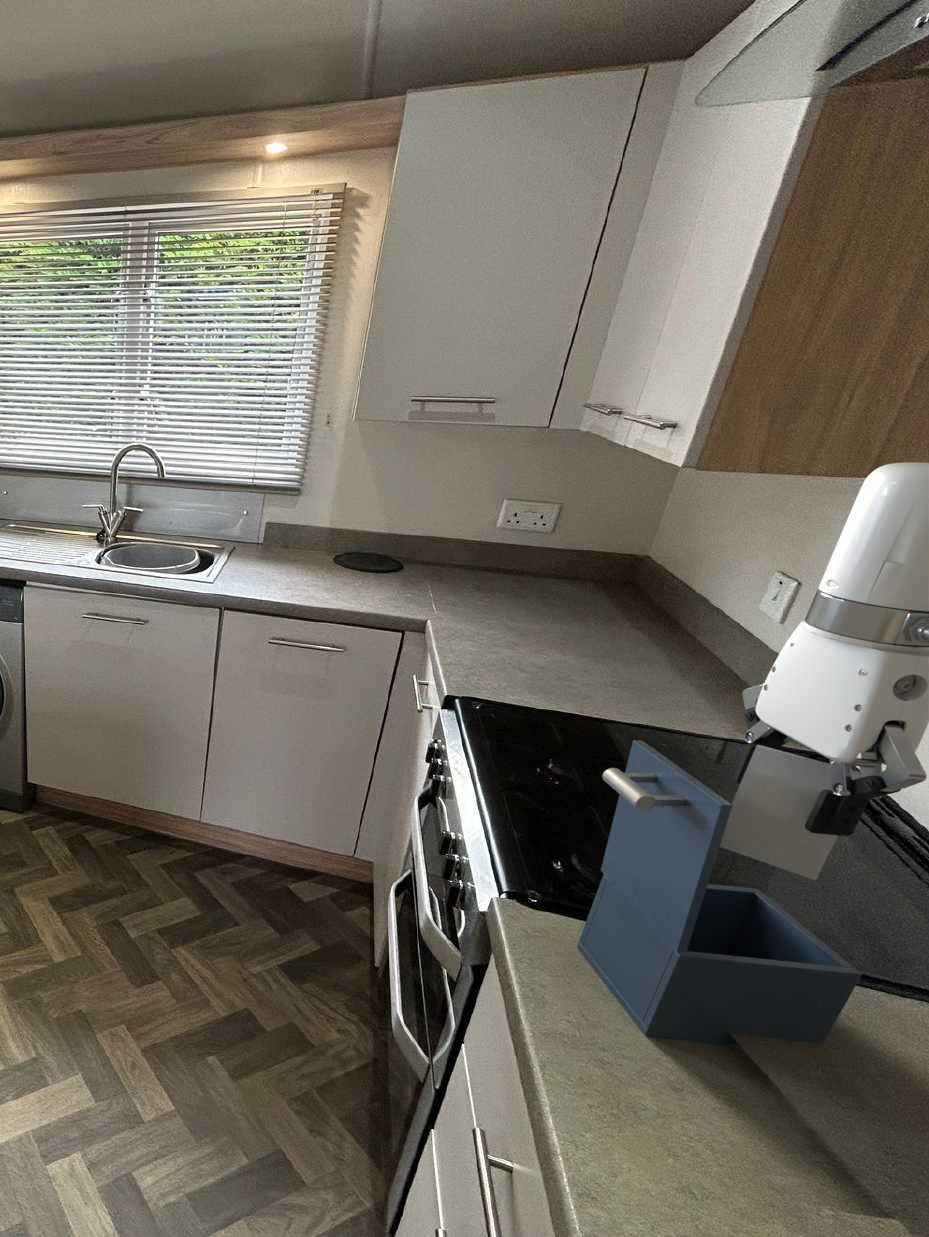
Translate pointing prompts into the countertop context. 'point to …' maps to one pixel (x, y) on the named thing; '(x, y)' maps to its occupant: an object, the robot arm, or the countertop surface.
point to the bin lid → (663, 841)
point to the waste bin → (718, 969)
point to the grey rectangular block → (780, 812)
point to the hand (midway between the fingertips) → (788, 805)
